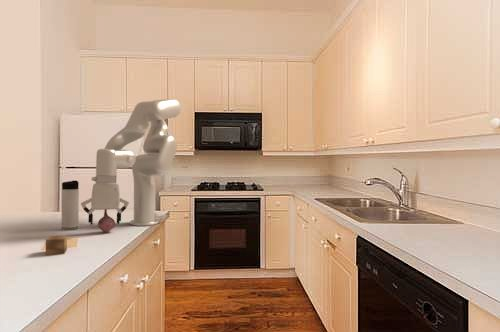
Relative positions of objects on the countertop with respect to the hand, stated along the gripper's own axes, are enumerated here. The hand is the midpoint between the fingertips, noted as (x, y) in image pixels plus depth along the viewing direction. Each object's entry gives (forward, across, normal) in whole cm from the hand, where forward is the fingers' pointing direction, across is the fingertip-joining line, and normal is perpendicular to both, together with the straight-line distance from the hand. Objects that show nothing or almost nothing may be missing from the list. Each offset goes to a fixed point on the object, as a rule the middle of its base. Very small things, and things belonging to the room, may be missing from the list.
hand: (104, 223), depth 132 cm
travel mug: (+4, -12, +16) cm, 20 cm away
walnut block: (+5, -15, -24) cm, 29 cm away
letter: (+4, -14, -11) cm, 19 cm away
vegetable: (+4, +1, +1) cm, 4 cm away
